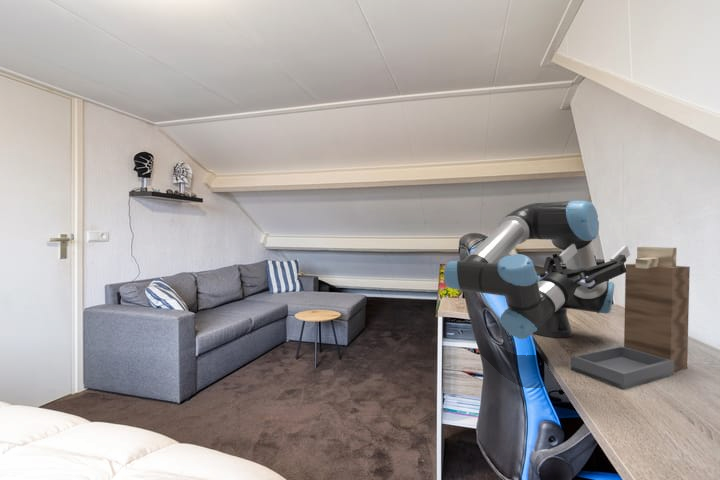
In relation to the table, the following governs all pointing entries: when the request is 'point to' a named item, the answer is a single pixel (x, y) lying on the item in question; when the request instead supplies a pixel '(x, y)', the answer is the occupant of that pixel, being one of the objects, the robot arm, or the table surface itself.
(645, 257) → the mallet
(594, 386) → the table surface
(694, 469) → the table surface
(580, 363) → the tray
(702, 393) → the table surface
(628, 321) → the plinth
